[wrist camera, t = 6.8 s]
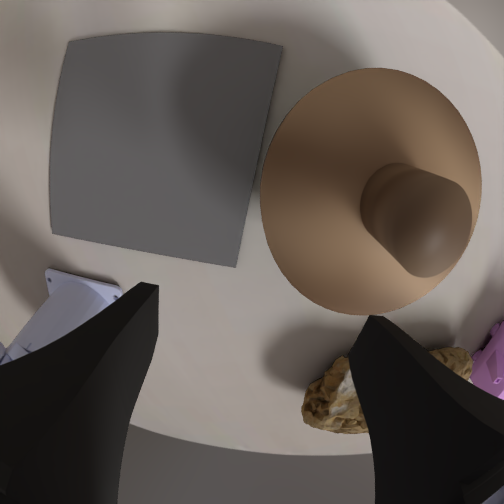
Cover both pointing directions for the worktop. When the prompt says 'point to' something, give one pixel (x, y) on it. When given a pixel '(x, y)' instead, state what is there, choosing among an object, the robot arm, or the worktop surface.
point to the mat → (160, 141)
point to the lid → (370, 191)
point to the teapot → (490, 364)
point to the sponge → (345, 397)
